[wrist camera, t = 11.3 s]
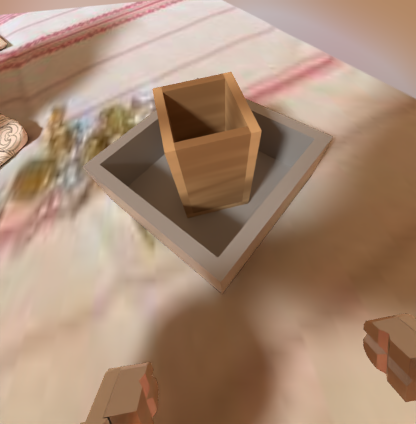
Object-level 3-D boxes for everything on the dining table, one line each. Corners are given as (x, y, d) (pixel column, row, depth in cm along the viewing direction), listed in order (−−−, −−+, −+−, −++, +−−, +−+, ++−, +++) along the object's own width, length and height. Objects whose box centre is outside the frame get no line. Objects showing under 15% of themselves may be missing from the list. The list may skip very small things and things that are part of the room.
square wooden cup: (248, 203, 19) (261, 130, 12) (187, 218, 19) (164, 152, 12) (229, 154, 22) (231, 71, 15) (176, 166, 22) (152, 88, 15)
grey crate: (222, 293, 17) (220, 282, 12) (111, 199, 21) (81, 166, 17) (310, 176, 21) (333, 136, 17) (202, 120, 26) (197, 78, 22)
